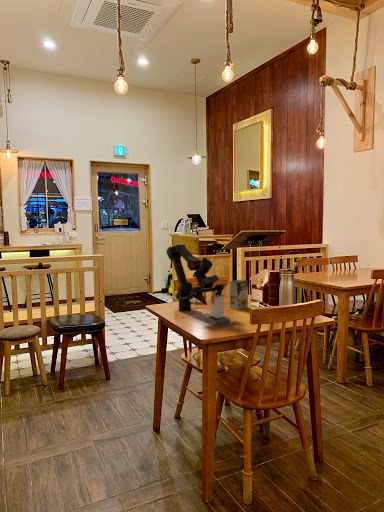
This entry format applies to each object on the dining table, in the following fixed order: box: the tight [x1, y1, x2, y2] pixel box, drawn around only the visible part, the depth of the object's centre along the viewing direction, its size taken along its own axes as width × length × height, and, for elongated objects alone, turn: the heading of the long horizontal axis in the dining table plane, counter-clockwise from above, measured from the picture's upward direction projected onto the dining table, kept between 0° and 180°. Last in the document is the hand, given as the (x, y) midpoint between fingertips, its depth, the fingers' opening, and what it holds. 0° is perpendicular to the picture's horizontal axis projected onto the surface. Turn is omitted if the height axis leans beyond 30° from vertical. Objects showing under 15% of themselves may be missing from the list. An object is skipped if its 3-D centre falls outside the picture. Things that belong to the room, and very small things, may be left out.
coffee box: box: [229, 279, 249, 311], centre depth 219 cm, size 9×6×16 cm
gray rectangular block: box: [210, 294, 225, 320], centre depth 188 cm, size 5×5×13 cm
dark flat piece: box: [192, 313, 235, 328], centre depth 192 cm, size 24×9×2 cm, turn 31°
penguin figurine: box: [190, 297, 198, 304], centre depth 236 cm, size 6×8×12 cm
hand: (213, 303), depth 190 cm, fingers open, 9 cm apart
